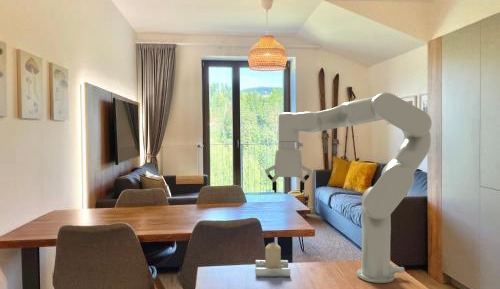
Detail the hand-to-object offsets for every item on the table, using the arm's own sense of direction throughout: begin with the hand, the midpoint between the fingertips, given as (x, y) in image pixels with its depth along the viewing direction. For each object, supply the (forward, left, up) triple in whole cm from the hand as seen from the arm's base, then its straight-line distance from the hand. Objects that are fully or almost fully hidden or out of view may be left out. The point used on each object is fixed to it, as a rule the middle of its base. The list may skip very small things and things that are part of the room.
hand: (288, 192), depth 140 cm
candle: (+6, +5, -28) cm, 29 cm away
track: (+6, +5, -28) cm, 29 cm away
